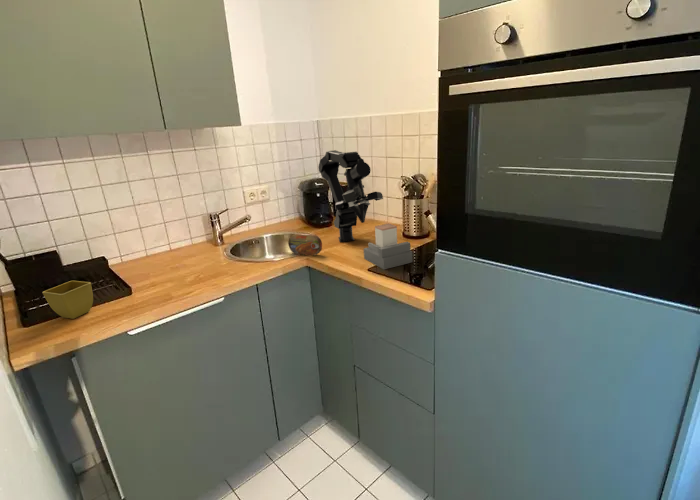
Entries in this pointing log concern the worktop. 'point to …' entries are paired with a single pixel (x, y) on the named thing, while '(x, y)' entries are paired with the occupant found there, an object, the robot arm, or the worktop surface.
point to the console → (389, 255)
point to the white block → (385, 235)
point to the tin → (305, 244)
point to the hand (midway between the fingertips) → (362, 222)
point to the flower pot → (70, 298)
